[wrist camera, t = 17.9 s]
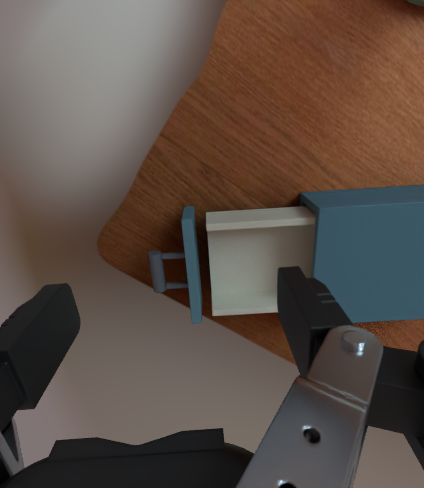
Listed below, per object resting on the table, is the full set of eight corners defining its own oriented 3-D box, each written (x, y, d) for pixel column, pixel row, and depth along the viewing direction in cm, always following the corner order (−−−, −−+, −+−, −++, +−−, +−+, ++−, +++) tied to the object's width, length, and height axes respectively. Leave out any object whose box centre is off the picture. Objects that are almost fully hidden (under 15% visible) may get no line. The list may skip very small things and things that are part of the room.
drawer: (162, 303, 41) (156, 326, 36) (148, 208, 36) (139, 222, 31) (328, 292, 41) (343, 314, 36) (339, 196, 35) (358, 208, 31)
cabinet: (293, 294, 42) (309, 325, 36) (300, 192, 36) (319, 208, 30) (433, 286, 42) (473, 316, 36) (462, 182, 36) (516, 196, 30)
